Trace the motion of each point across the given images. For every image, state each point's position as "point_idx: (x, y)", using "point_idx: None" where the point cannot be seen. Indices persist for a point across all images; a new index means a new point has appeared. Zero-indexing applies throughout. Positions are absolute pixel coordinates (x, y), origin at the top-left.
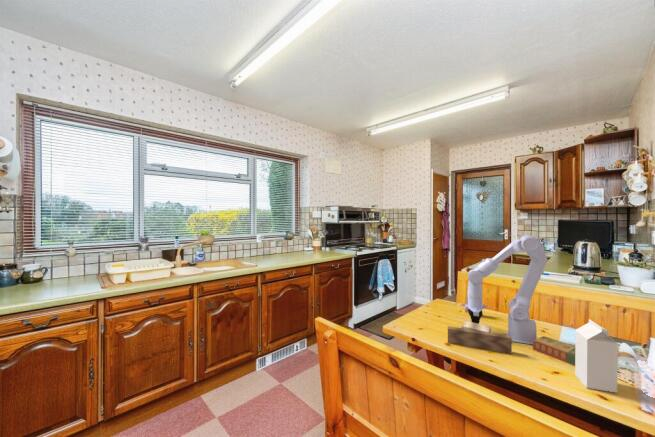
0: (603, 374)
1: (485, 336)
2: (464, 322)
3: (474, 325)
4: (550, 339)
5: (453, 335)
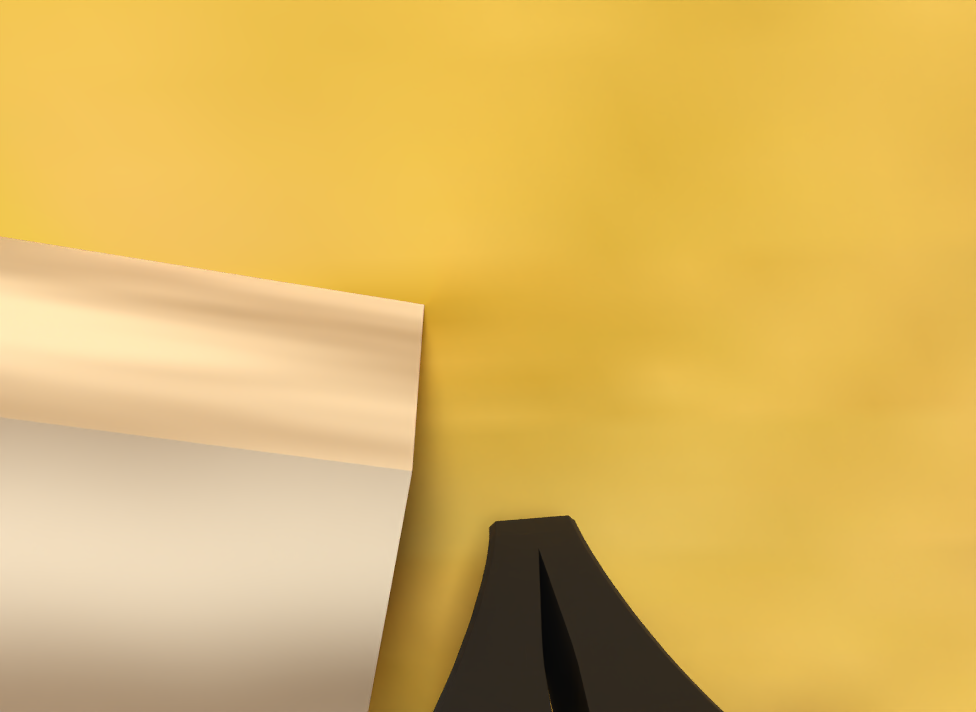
0: None
1: None
2: (194, 453)
3: (133, 699)
4: None
5: None
